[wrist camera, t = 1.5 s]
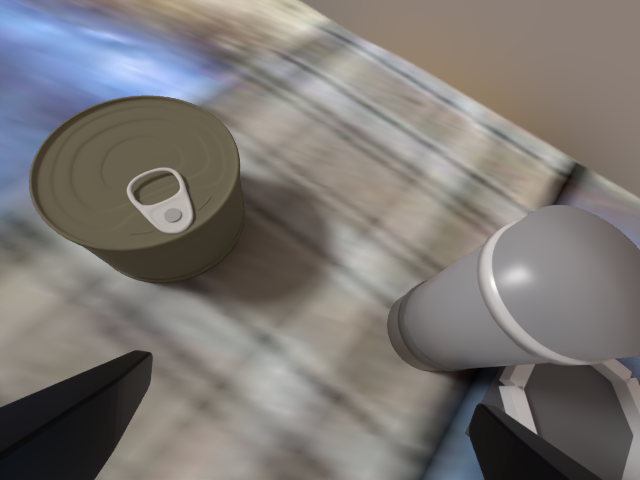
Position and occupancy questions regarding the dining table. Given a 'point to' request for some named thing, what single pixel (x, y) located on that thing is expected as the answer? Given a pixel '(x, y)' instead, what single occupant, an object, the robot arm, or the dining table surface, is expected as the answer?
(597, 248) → the lens
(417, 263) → the dining table surface
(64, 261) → the dining table surface
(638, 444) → the octagonal tray on plate
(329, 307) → the dining table surface
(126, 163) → the can
